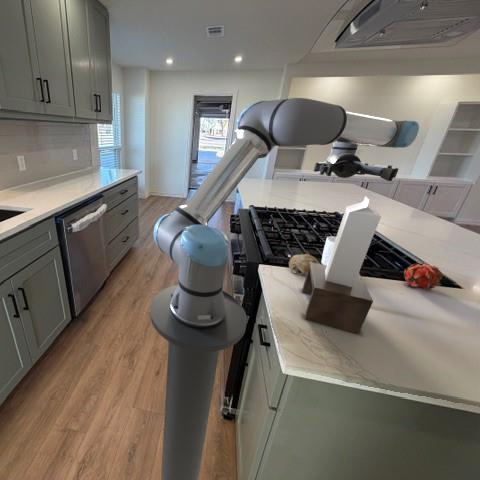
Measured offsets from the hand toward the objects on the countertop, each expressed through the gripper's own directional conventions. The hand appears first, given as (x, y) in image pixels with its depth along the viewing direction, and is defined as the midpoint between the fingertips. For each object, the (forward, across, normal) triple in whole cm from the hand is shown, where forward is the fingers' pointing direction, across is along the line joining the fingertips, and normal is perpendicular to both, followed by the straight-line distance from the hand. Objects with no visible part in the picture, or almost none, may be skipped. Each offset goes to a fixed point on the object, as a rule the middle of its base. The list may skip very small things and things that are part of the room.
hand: (360, 173), depth 67 cm
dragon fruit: (-15, -29, -36) cm, 49 cm away
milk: (+13, 0, -26) cm, 29 cm away
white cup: (-19, -5, -36) cm, 41 cm away
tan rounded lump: (-9, +5, -36) cm, 38 cm away
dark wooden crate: (+13, 0, -36) cm, 38 cm away
